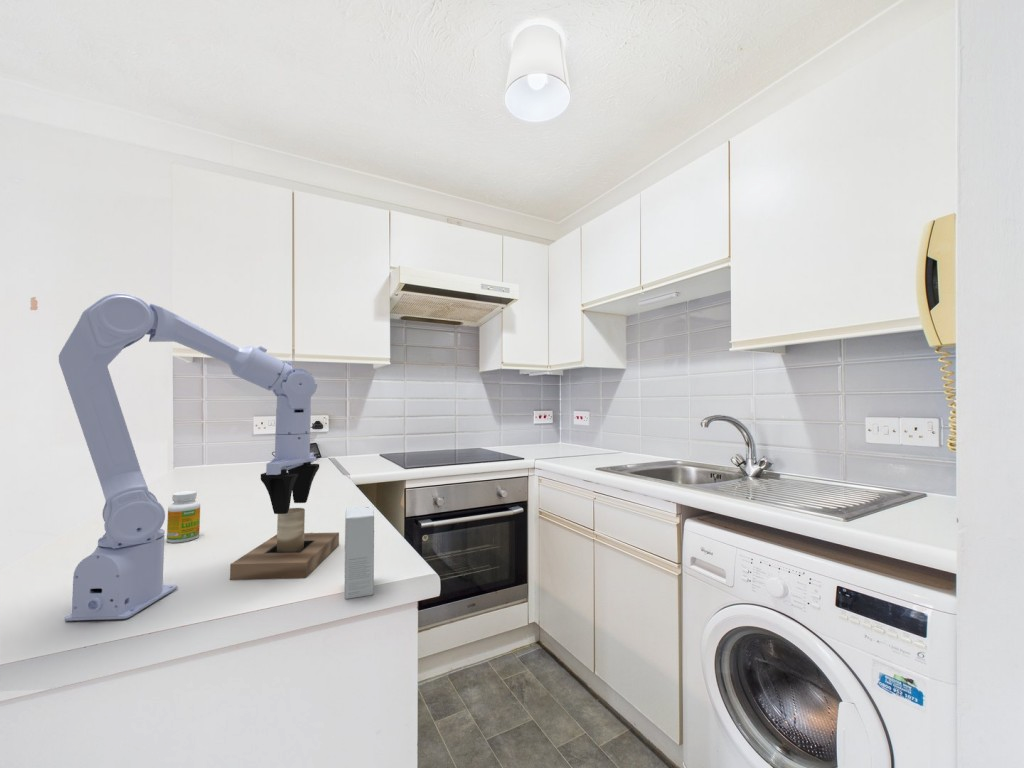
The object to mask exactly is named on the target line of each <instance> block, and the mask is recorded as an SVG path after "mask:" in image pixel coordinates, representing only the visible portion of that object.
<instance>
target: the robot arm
mask: <svg viewBox="0 0 1024 768" xmlns="http://www.w3.org/2000/svg"><path fill="white" fill-rule="evenodd" d="M146 335H148V336H149V339H148V342H149V343H150V342H151V343H152V342H153V343H156V342H159V343H162V342H163V343H164V342H168V343H169V342H171V343H173V342H174V343H177V344H180V345H182V346H185V347H187V348H189V349H191V350H194V351H197V352H198V353H201V354H203V355H206V356H208V357H211V358H214V359H215V360H218V361H220V362H223V363H225V364H227V365H228V366H229V368H230V371H231V373H232V375H234V376H235V377H236V378H237V377H238V378H240V379H242V380H245V381H247V382H249V383H251V384H252V385H253V384H254V385H256V386H259V387H260V388H262V389H265V390H267V391H272V392H273V394H274V395H275V397H276V410H275V437H274V438H275V439H274V441H275V442H274V458H273V459H271V460H270V462H266V465H265V466H266V469H265V472H263V473H261V474H260V481H261V482H262V483H263V485H264V487H265V488H266V490H267V493H268V496H269V499H270V503H271V507H272V510H273V514H274V515H278V514H286V513H288V511H289V508H290V506H291V500H293V503H294V504H306V503H307V502H308V499H309V496H310V491H311V487H312V484H313V482H314V479H315V476H316V475H317V473H318V471H319V469H320V463H314V462H315V461H317V456H315V452H310V451H311V423H312V422H311V416H312V414H311V413H312V408H311V404H312V401H311V400H312V397H313V395H314V394H315V393H316V392H317V388H318V384H317V383H316V381H315V378H314V376H312V373H310V372H309V371H308V370H306V369H303V368H293V363H292V362H291V361H289V360H287V361H283V360H281V359H279V358H277V357H275V356H274V355H271V354H269V353H267V351H268V349H267V348H265V347H263V346H257V347H255V346H254V345H247V346H244V347H238V346H237V345H235V344H233V343H230V342H229V341H227V340H226V339H223V338H221V337H220V336H218V335H216V334H214V333H213V332H211V331H208V330H206V329H205V328H203V327H200V326H199V325H197V324H195V323H193V322H191V321H189V320H187V319H186V318H183V317H182V316H179V315H178V314H176V313H174V312H173V311H170V310H168V309H166V308H164V307H163V306H160V305H157V304H154V303H150V304H148V303H147V302H146V301H145V300H144V299H142V298H140V297H138V296H136V295H134V294H133V295H132V294H129V293H128V294H127V293H120V292H119V293H112V294H107V295H105V296H103V297H101V298H99V299H98V300H97V301H95V302H94V303H93V304H91V305H90V306H89V307H87V308H86V309H84V310H83V312H82V313H81V315H80V317H79V319H78V321H77V324H75V326H74V328H73V330H72V332H71V333H70V335H69V336H68V337H67V340H66V342H65V343H64V345H63V347H62V349H61V350H60V352H59V354H58V364H59V366H60V370H61V371H62V375H63V378H64V381H65V383H66V387H67V389H68V393H69V395H70V399H71V401H72V404H73V407H74V410H75V413H76V416H77V419H78V422H79V425H80V427H81V431H82V433H83V436H84V440H85V443H86V445H87V449H88V451H89V454H90V458H91V460H92V463H93V466H94V469H95V472H96V474H97V477H98V481H99V484H100V487H101V491H102V494H103V497H104V499H105V500H104V501H105V503H104V506H103V509H102V520H103V521H104V531H105V533H104V534H103V535H102V537H100V538H99V539H98V540H97V547H96V548H95V550H94V551H93V552H92V553H91V554H90V555H88V556H86V557H84V558H83V559H81V561H79V563H78V564H77V566H76V567H75V569H74V572H73V577H72V595H71V596H72V599H71V600H72V601H71V613H69V614H67V615H66V616H65V617H64V621H66V622H67V621H68V622H69V621H70V622H71V621H95V620H97V621H100V620H102V621H103V620H104V621H105V620H126V619H128V618H130V617H132V616H134V615H135V614H137V613H139V612H140V611H142V610H143V609H145V608H146V607H148V606H150V605H152V604H153V603H155V602H156V601H158V600H160V599H162V598H164V597H165V596H167V595H168V594H170V593H171V592H173V591H174V590H177V589H178V584H164V559H165V529H162V527H163V526H164V524H165V523H164V522H165V520H166V511H165V508H164V507H163V505H162V504H161V502H159V501H158V498H157V497H156V495H155V494H154V493H152V492H151V491H150V490H149V488H148V485H147V482H146V480H145V477H144V474H143V472H142V469H141V466H140V463H139V459H138V457H137V453H136V451H135V447H134V444H133V441H132V438H131V435H130V432H129V429H128V425H127V423H126V420H125V417H124V413H123V411H122V408H121V405H120V404H121V403H120V401H119V398H118V395H117V392H116V389H115V385H114V383H113V379H112V376H111V374H110V369H109V368H108V366H109V365H110V364H111V363H112V361H114V360H115V358H116V357H117V356H118V355H119V354H120V353H121V352H122V350H124V349H126V348H127V347H128V348H129V347H130V346H131V345H134V344H135V343H137V342H139V341H141V340H142V339H143V338H144V337H145V336H146ZM291 498H292V499H291Z"/></svg>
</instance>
